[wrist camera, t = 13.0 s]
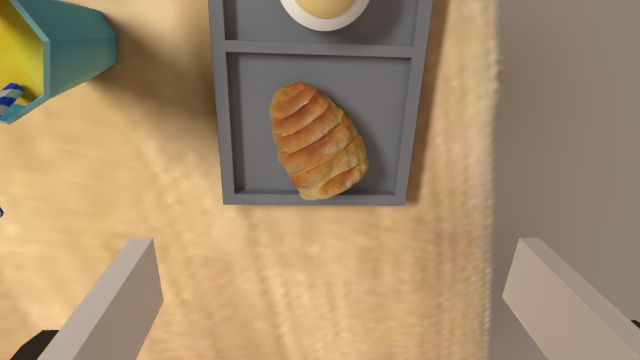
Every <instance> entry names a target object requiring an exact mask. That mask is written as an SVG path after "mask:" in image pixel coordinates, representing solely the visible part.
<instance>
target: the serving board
mask: <svg viewBox="0 0 640 360" xmlns="http://www.w3.org/2000/svg"><path fill="white" fill-rule="evenodd" d="M432 6H433V0H208V8H209V21H210V34H211V47H212V61H213V74H214V87H215V100H216V113H217V127H218V140H219V153H220V166H221V180H222V193H223V204H227V205H373V206H405V201H406V194H407V187H408V179H409V172H410V165H411V158H412V150H413V143H414V136H415V129H416V121H417V114H418V107H419V100H420V92H421V85H422V78H423V71H424V63H425V56H426V49H427V42H428V34H429V27H430V20H431V13H432ZM293 81H301V82H304V83H307V84H310V85H314V86H317V87H318V88H319V89H320V90H321V91H322V92H323V93H324V94H325V95H327V96H328V97H329V98H330V99H331V100H332V101H333V102H334V103H335V104H336V105H337V106H338V107H339V108H340V109H342V110H343V111H344V113H345V114H346V115H347V116H348V117H350V119H351V120H352V122H353V124H354V127H355V128H356V129H357V132H358V133H359V135H360V136H361V137H362V138H363V141H364V144H365V148H366V157H367V160H368V162H369V167H368V169H367V170H366V172H365V174H364V176H363V177H362V178H361V179H360V180H359V181H358V182H356V183H354V184H353V185H352V186H351V187H350V188H349V189H348V190H346V191H343V192H341V193H339V194H337V195H335V196H332V197H330V198H328V199H319V200H316V201H313V200H305V199H303V198H302V197H301V196H300V193H299V191H298V189H297V188H296V187H294V186H293V184H292V182H291V177H290V176H289V174H288V172H287V171H286V169H285V167H284V166H283V165H282V164H281V163H280V162H279V160H278V149H277V145H276V143H275V141H274V138H273V135H272V122H271V119H270V114H269V107H270V105H271V102H272V99H273V96H274V94H275V92H276V91H277V90H278V89H280V88H282V87H284V86H285V85H286V84H288V83H291V82H293Z"/></svg>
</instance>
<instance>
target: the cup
mask: <svg viewBox="0 0 640 360" xmlns="http://www.w3.org/2000/svg"><path fill="white" fill-rule="evenodd" d="M117 48H118V35H117V34H116V33H115V31H114V30H113V29H112V27H111V26H110V25H109V23H108V22H107V21H106V19H105V18H104V16H103V15H102V14H101V12H100V11H98V10H94V9H90V8H87V7H83V6H80V5H76V4H72V3H69V2H64V1H60V0H0V123H5V124H9V125H10V124H11V123H13V122H15V121H16V120H18V119H20V118H21V117H23V116H24V115H26V114H27V113H29V112H30V111H32V110H33V109H35V108H36V107H38V106H39V105H41V104H42V103H44V102H45V101H47V100H48V99H50V98H52V97H55V96H57V95H59V94H61V93H63V92H65V91H67V90H69V89H71V88H73V87H75V86H77V85H79V84H81V83H84V82H86V81H88V80H90V79H92V78H94V77H96V76H98V75H99V74H101V73H102V72H104V71H105V70H107V69H108V68H110V67H111V66H113V65H114V64H116V63H117ZM3 213H4V212H3V210H2V209H1V208H0V217H2V216H3Z"/></svg>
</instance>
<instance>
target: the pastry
mask: <svg viewBox="0 0 640 360" xmlns="http://www.w3.org/2000/svg"><path fill="white" fill-rule="evenodd" d="M269 114H270V119H271V122H272V135H273V138H274V141H275V143H276V145H277V149H278V160H279V162H280V163H281V164H282V165H283V166H284V167H285V169H286V171H287V172H288V174H289V176H290V177H291V182H292V184H293V186H294V187H296V188H297V189H298V191H299V193H300V196H301V197H302V198H303V199H305V200H313V201H316V200H319V199H328V198H330V197H332V196H335V195H337V194H339V193H341V192H343V191H346V190H348V189H349V188H350V187H351V186H352V185H353V184H354V183H356V182H358V181H359V180H360V179H361V178H362V177H363V176H364V174H365V172H366V170H367V169H368V167H369V162H368V160H367V157H366V148H365V144H364V141H363V138H362V137H361V136H360V135H359V133H358V132H357V129H356V128H355V127H354V124H353V122H352V120H351V119H350V117H348V116H347V115H346V114H345V113H344V111H343V110H342V109H340V108H339V107H338V106H337V105H336V104H335V103H334V102H333V101H332V100H331V99H330V98H329V97H328V96H327V95H325V94H324V93H323V92H322V91H321V90H320V89H319V88H318V87H317V86H314V85H310V84H307V83H304V82H301V81H293V82H291V83H288V84H286V85H285V86H284V87H282V88H280V89H278V90H277V91H276V92H275V94H274V96H273V99H272V102H271V105H270V107H269Z"/></svg>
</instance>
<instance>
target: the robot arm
mask: <svg viewBox="0 0 640 360" xmlns="http://www.w3.org/2000/svg"><path fill="white" fill-rule="evenodd" d="M502 298H503V299H504V301H505V302H506V303H507V305H508V306H509V307H510V309H511V310H512V311H513V313H514V314H515V316H516V317H517V318H518V320H519V321H520V322H521V324H522V325H523V326H524V328H525V329H526V331H527V332H528V333H529V335H530V336H531V337H532V339H533V340H534V342H535V343H536V344H537V346H538V347H539V348H540V350H541V351H542V352H543V354H544V355H545V356H546V358H547V359H548V360H640V323H639V322H637V321H636V320H629V319H628V318H627V317H626V316H625V315H624V314H622V313H621V312H620V311H619V310H618V309H617V308H616V307H615V306H613V305H612V304H611V303H610V302H609V301H608V300H607V299H606V298H605V297H604V296H603V295H601V294H600V293H599V292H598V291H597V290H596V289H595V288H594V287H593V286H592V285H590V284H589V283H588V282H587V281H586V280H585V279H584V278H583V277H582V276H581V275H579V274H578V273H577V272H576V271H575V270H574V269H573V268H572V267H571V266H570V265H568V264H567V263H566V262H565V261H564V260H563V259H562V258H561V257H560V256H558V255H557V254H556V253H555V252H554V251H553V250H552V249H551V248H550V247H549V246H548V245H546V244H545V243H544V242H543V241H542V240H541V239H540V238H519V240H518V244H517V248H516V251H515V254H514V258H513V261H512V265H511V269H510V272H509V275H508V279H507V282H506V286H505V289H504V293H503V296H502ZM162 303H163V295H162V289H161V283H160V277H159V271H158V265H157V259H156V253H155V247H154V241H153V238H130V239H129V240H128V241H127V243H126V244H125V245H124V247H123V248H122V249H121V251H120V252H119V253H118V255H117V256H116V257H115V258H114V260H113V261H112V262H111V264H110V265H109V266H108V268H107V269H106V270H105V272H104V273H103V274H102V275H101V277H100V278H99V279H98V281H97V282H96V283H95V285H94V286H93V287H92V288H91V290H90V291H89V292H88V294H87V295H86V296H85V298H84V299H83V300H82V302H81V303H80V304H79V305H78V307H77V308H76V309H75V311H74V312H73V313H72V315H71V316H70V317H69V319H68V320H67V321H66V322H65V324H64V325H63V326H62V328H61V329H60V330H42V331H41V332H40V333H38V334H37V335H36V336H34V337H33V338H32V339H30V340H29V341H28V342H26V343H25V344H24V345H22V346H21V347H20V348H19V350H18V351H17V352H16V353H15V354H14V355H13V357H12V358H11V359H10V360H136V358H137V356H138V354H139V351H140V349H141V347H142V345H143V343H144V341H145V339H146V337H147V335H148V333H149V330H150V328H151V326H152V324H153V322H154V320H155V318H156V316H157V314H158V312H159V309H160V307H161V305H162Z"/></svg>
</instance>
